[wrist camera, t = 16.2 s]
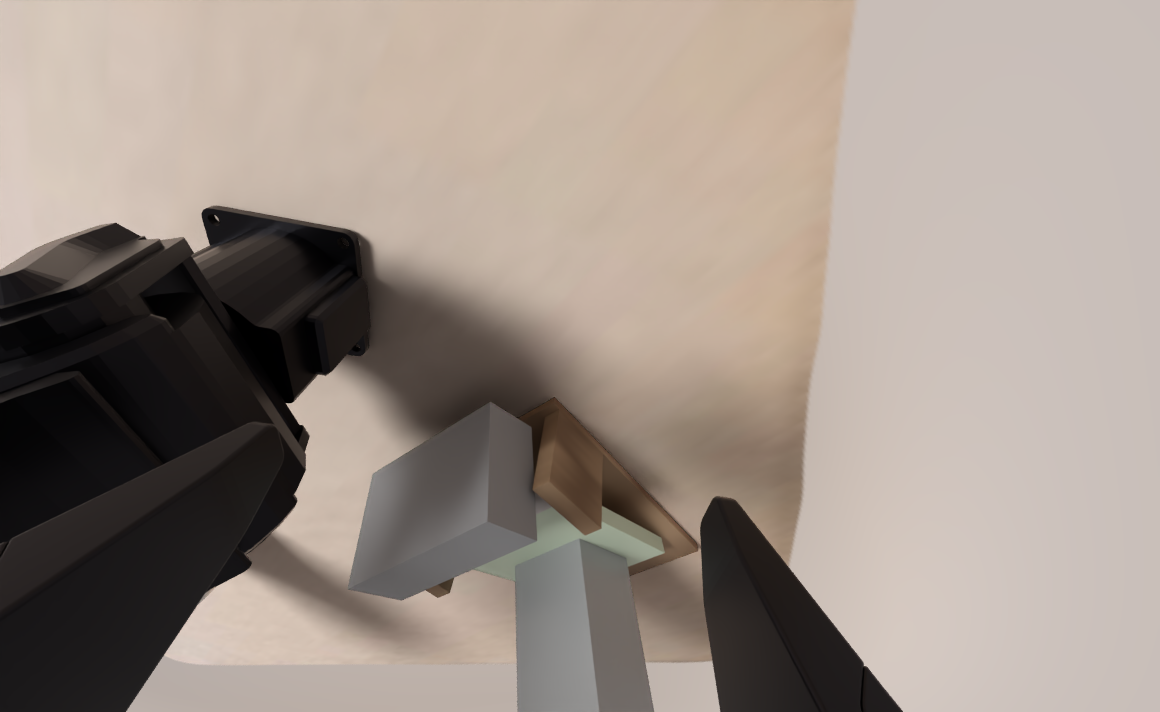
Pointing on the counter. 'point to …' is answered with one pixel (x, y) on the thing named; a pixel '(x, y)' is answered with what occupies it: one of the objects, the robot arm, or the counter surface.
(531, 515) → the trapdoor
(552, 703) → the grey rectangular block
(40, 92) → the counter surface
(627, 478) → the frame
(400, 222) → the counter surface
